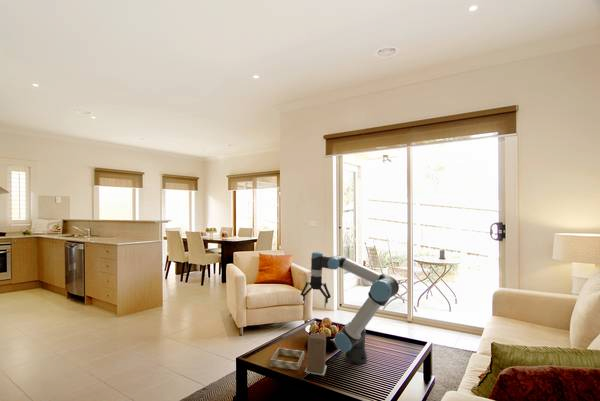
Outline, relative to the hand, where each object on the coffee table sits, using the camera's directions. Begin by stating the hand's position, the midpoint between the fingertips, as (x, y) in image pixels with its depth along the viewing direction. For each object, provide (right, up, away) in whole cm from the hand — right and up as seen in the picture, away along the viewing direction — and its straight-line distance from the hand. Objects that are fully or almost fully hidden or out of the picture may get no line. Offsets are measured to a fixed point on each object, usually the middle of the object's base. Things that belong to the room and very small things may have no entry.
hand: (315, 307), depth 223 cm
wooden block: (0, -31, -21) cm, 38 cm away
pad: (0, -31, -21) cm, 38 cm away
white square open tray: (-18, -31, -13) cm, 38 cm away
